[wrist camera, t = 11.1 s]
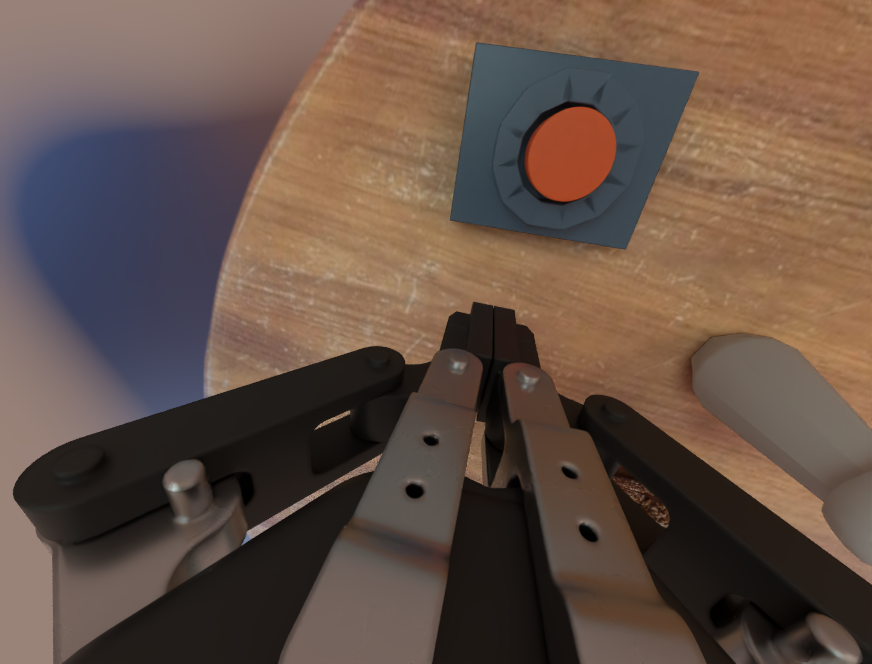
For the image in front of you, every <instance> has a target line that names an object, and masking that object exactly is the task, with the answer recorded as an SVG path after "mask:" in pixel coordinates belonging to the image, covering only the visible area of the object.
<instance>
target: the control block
mask: <svg viewBox="0 0 872 664" xmlns="http://www.w3.org/2000/svg"><path fill="white" fill-rule="evenodd" d="M698 75H699V72H697V71H689V70H682V69H674V68H667V67H659V66H652V65H644V64H636V63H629V62H621V61H614V60H606V59H598V58H591V57H583V56H576V55H568V54H561V53H553V52H545V51H538V50H530V49H523V48H515V47H508V46H500V45H492V44H485V43H476V46H475V53H474V60H473V67H472V73H471V80H470V87H469V94H468V101H467V107H466V114H465V121H464V128H463V134H462V141H461V148H460V155H459V162H458V168H457V175H456V182H455V189H454V195H453V202H452V209H451V216H450V220H451V221H457V222H463V223H469V224H475V225H481V226H487V227H493V228H499V229H505V230H511V231H517V232H523V233H529V234H535V235H541V236H547V237H553V238H559V239H565V240H571V241H577V242H583V243H589V244H595V245H601V246H607V247H613V248H619V249H626V248H627V246H628V243H629V241H630V238H631V236H632V234H633V231H634V229H635V226H636V224H637V222H638V219H639V217H640V214H641V212H642V209H643V207H644V205H645V202H646V200H647V197H648V195H649V193H650V190H651V188H652V185H653V183H654V181H655V178H656V176H657V173H658V171H659V169H660V166H661V164H662V161H663V159H664V156H665V154H666V152H667V149H668V147H669V144H670V142H671V140H672V137H673V135H674V132H675V130H676V128H677V125H678V123H679V120H680V118H681V116H682V113H683V111H684V108H685V106H686V103H687V101H688V99H689V96H690V94H691V91H692V89H693V87H694V84H695V82H696V79H697V77H698ZM572 107H587V108H591V109H594V110H596V111H598V112H600V113H601V114H602V115H604V116H605V117H606V118H607V120H608V121H609V122H610V124H611V126H612V127H613V130H614V133H615V137H616V154H615V159H614V162H613V165H612V168H611V170H610V172H609V174H608V175H607V177H606V178H605V180H604V181H603V182H602V183H601V184H600V185H599V186H598V187H597V188H596V189H595V190H594V191H593V192H591V193H590V194H588V195H586V196H585V197H582V198H580V199H577V200H574V201H567V202H561V201H555V200H551V199H549V198H547V197H545V196H543V195H542V194H541V193H540V192H538V191H537V190H536V189H535V188H534V187H533V186H532V184H531V183H530V181H529V179H528V177H527V175H526V171H525V165H524V158H525V151H526V147H527V144H528V142H529V140H530V138H531V136H532V134H533V133H534V131H535V130H536V129H537V128H538V126H539V125H540V124H541V123H543V122H544V121H545V120H546V119H548V118H549V117H551V116H553V115H554V114H556V113H558V112H560V111H562V110H565V109H568V108H572Z"/></svg>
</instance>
